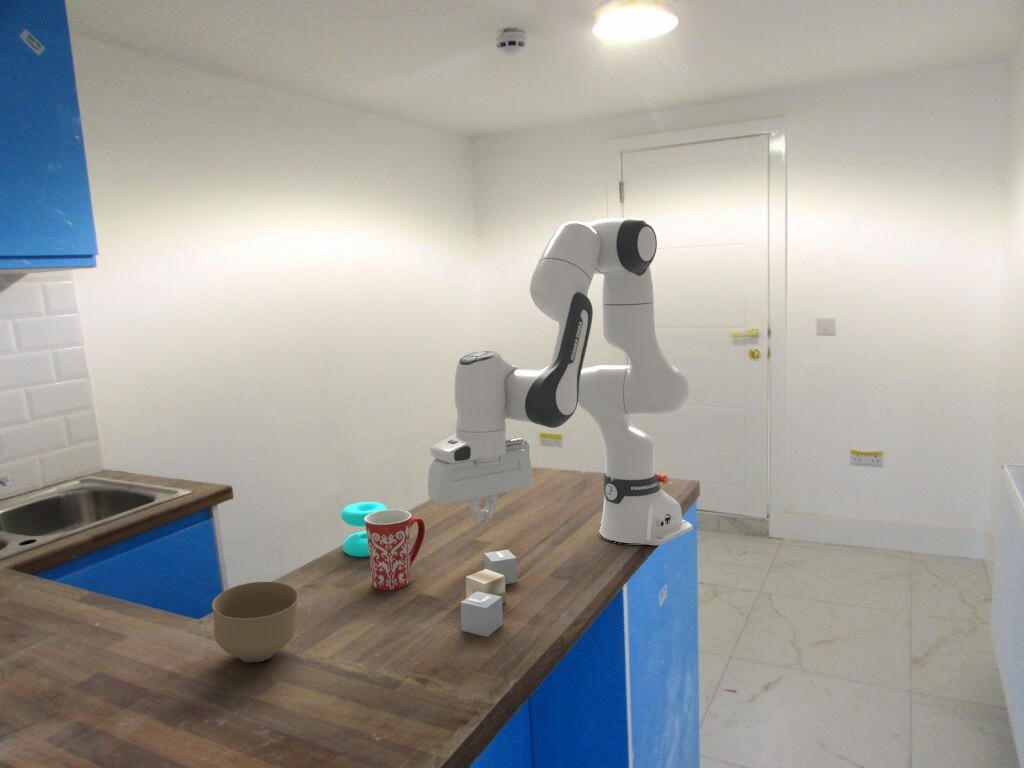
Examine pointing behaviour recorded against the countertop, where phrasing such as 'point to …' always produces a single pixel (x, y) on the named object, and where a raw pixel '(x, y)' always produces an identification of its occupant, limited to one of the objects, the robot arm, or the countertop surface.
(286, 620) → the bowl
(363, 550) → the donuts
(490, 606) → the grey block
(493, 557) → the grey block
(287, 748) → the countertop surface
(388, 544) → the mug
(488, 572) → the maple block
